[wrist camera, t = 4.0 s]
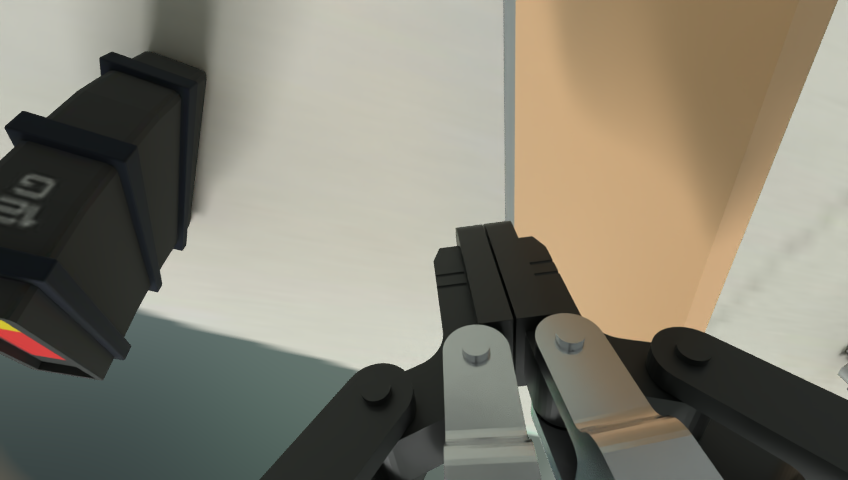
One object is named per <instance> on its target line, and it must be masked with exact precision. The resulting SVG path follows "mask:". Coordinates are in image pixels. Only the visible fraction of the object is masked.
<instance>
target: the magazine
mask: <svg viewBox="0 0 848 480" xmlns="http://www.w3.org/2000/svg"><path fill="white" fill-rule="evenodd" d="M100 70H101V76H100V77H99V78H97V79H96V80H94V81H92V82H91V83H89V84H88V85H86V86H84V87H83V88H81V89H80V90H78V91H77V92H76V93H75V94H74V95H72V96H71V97H70V98H69V99H68V100H67V101H65V102H64V103H63V104H62V105H61V106H60V107H58V108H57V109H56V110H55V111H54V112H53V113H51V114H50V115H49V116H48V117H47V118H46V117H42V116H39V115H36V114H32V113H29V112H26V111H22V112H21V113H19V114H18V115H17V116H16V117H15V118H14V119H13V120H12V121H10V122H9V123H8V124H7V125H6V126H5V130H6V132H7V134H8V135H9V137H10V139H11V141H12V143H13V145H14V148H13V149H12V150H11V151H10V152H9V153H8V154H7V155H6V156H5V157H3V158H2V159H1V160H0V354H1V355H3V356H5V357H8V358H10V359H12V360H14V361H16V362H18V363H20V364H22V365H24V366H26V367H29V368H31V369H35V370H39V371H45V372H52V373H58V374H64V375H71V376H77V377H82V378H89V379H95V380H103V379H104V377H105V375H106V373H107V371H108V369H109V367H110V365H111V363H112V361H113V359H119V360H124V359H125V358H126V356H127V354H128V352H129V350H130V348H131V345H130V344H129V343H128V342H127V340H126V339H125V338H124V336H125V334H126V332H127V330H128V328H129V326H130V324H131V322H132V320H133V318H134V316H135V314H136V312H137V309H138V308H139V306H140V304H141V302H142V300H143V299H144V297H145V295H146V293H147V291H148V290H150V291H154V292H158V291H159V290H160V288H161V286H162V280H161V275H160V269H161V267H162V265H163V264H164V262H165V260H166V259H167V257H168V256H169V254H170V253H171V251H172V249H177V250H181V251H182V250H183V249H184V248H185V246H186V241H187V228H188V226H189V224H190V215H191V206H192V198H193V189H194V180H195V171H196V163H197V154H198V145H199V137H200V128H201V119H202V111H203V102H204V93H205V84H206V74H205V72H204V71H202V70H200V69H197V68H194V67H192V66H189V65H186V64H183V63H181V62H178V61H175V60H172V59H169V58H167V57H164V56H161V55H158V54H156V53H153V52H143V53H142V54H140V55H138V56H136V57H134V58H129V57H126V56H123V55H120V54H117V53H115V52H110V53H108V54H106V55H104V56H102V57H100Z"/></svg>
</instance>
